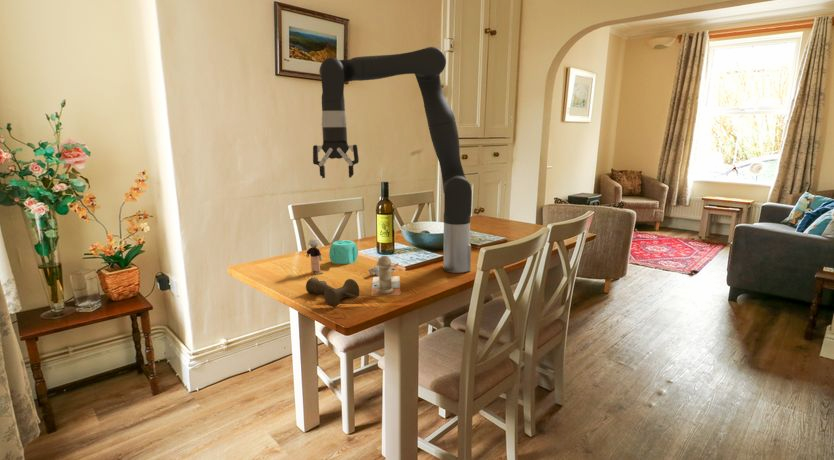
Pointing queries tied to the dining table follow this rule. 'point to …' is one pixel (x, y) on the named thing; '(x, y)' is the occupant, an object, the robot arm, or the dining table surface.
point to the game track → (395, 284)
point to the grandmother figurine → (314, 256)
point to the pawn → (385, 275)
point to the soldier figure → (376, 269)
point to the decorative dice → (343, 252)
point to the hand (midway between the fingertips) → (336, 177)
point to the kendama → (333, 290)
